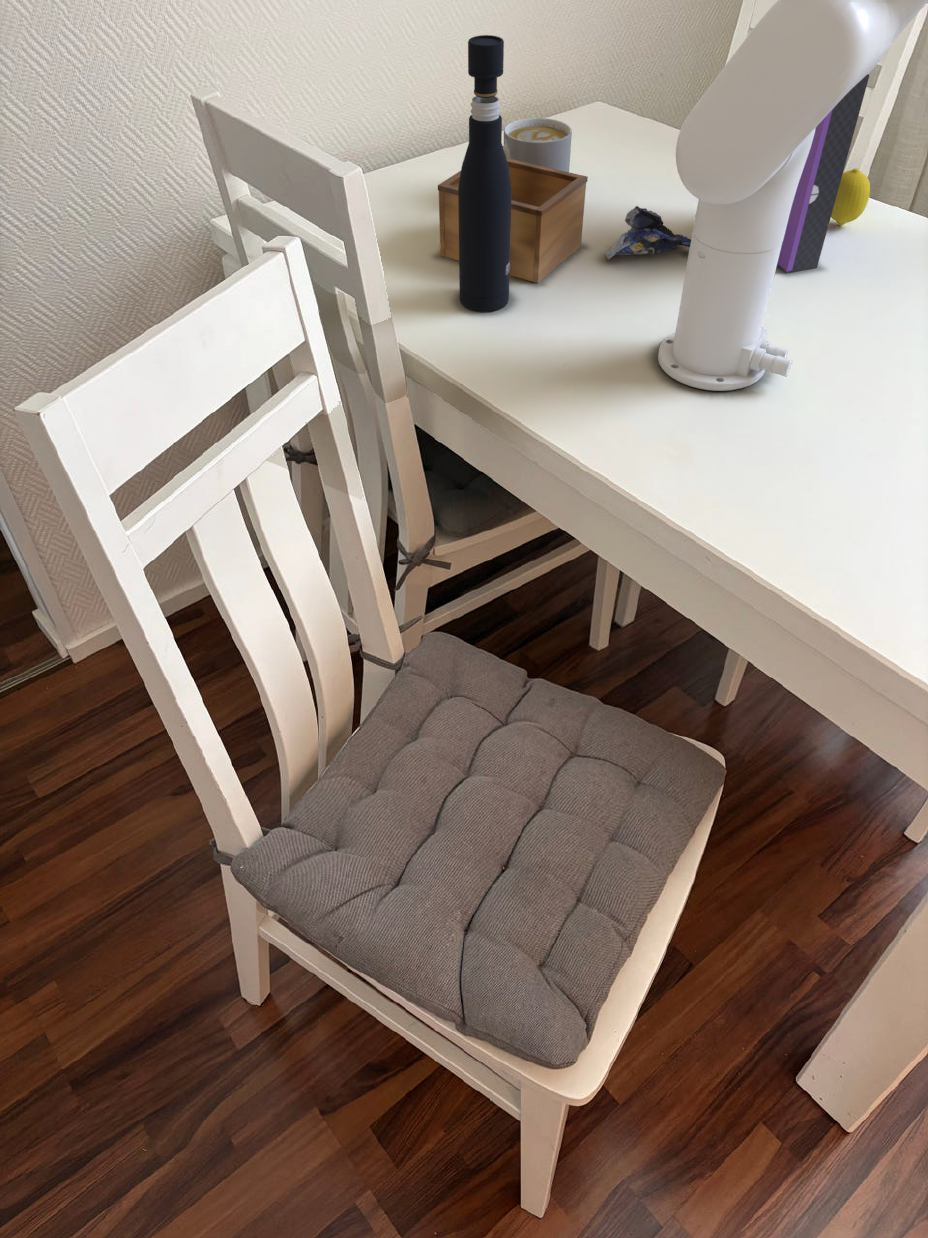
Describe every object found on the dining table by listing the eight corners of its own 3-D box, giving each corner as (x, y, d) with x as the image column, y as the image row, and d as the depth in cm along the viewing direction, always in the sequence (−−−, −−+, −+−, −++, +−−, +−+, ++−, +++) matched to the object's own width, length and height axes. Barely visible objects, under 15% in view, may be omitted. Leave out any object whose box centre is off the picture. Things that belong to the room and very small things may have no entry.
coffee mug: (559, 183, 149) (563, 115, 142) (573, 210, 142) (578, 139, 135) (475, 189, 148) (475, 121, 140) (486, 216, 141) (486, 146, 133)
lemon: (867, 229, 137) (885, 172, 131) (836, 236, 135) (852, 178, 130) (844, 214, 140) (860, 158, 134) (812, 220, 139) (827, 164, 133)
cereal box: (722, 220, 139) (758, 35, 122) (751, 215, 140) (790, 31, 123) (786, 273, 128) (835, 77, 110) (816, 267, 129) (870, 72, 111)
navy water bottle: (453, 292, 125) (448, 34, 103) (499, 285, 126) (504, 28, 104) (468, 315, 120) (466, 51, 99) (515, 307, 122) (524, 45, 100)
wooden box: (581, 246, 134) (587, 176, 127) (538, 283, 126) (542, 211, 119) (486, 221, 140) (487, 153, 132) (439, 255, 132) (437, 184, 125)
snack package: (595, 233, 137) (605, 269, 128) (607, 188, 132) (618, 222, 124) (674, 246, 138) (689, 282, 130) (689, 202, 134) (705, 236, 126)
